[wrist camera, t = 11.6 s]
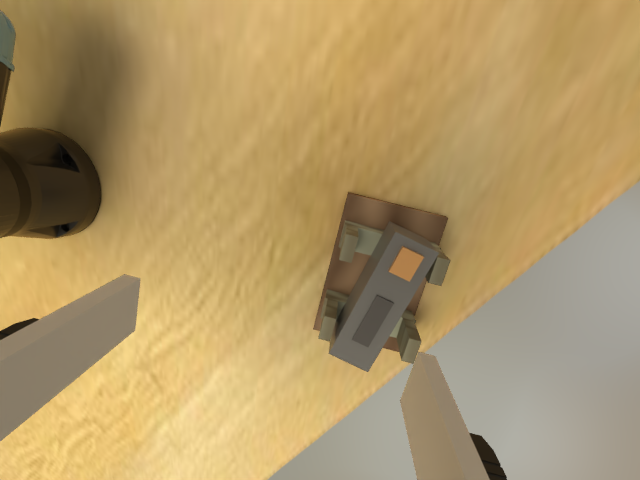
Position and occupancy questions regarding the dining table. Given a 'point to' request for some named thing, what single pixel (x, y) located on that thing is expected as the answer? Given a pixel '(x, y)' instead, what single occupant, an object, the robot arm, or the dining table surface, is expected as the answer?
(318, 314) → the rack
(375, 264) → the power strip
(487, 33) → the dining table surface
